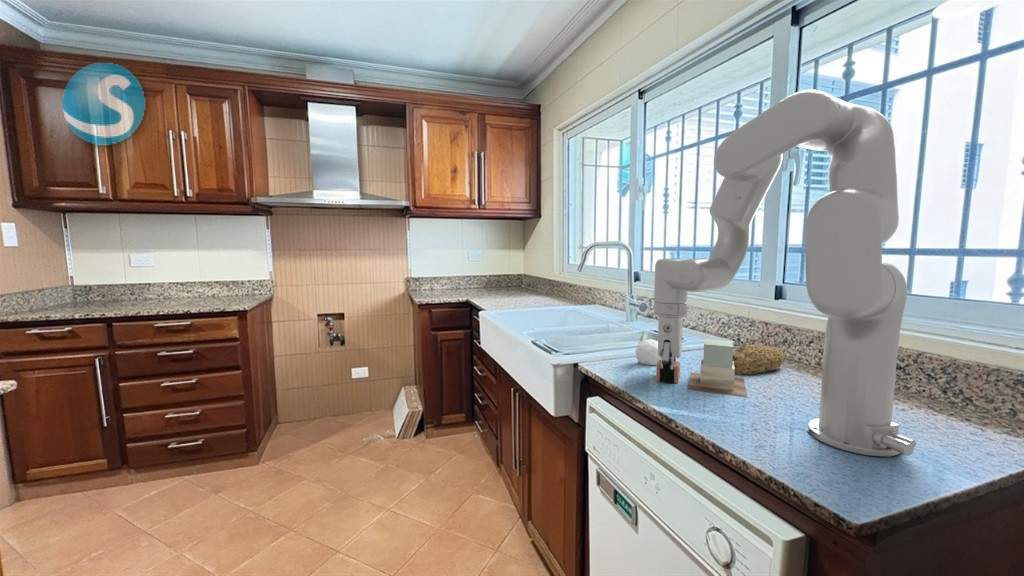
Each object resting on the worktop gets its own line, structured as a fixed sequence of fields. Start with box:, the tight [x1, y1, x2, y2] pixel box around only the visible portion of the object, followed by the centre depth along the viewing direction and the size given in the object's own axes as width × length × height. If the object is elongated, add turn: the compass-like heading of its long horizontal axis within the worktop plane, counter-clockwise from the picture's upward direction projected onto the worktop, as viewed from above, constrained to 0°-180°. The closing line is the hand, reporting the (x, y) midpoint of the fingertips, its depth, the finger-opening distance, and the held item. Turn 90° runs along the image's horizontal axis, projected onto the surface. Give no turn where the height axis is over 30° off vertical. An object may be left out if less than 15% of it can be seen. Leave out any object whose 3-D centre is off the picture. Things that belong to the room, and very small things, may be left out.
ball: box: [634, 339, 661, 366], centre depth 115 cm, size 8×8×8 cm
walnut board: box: [687, 371, 748, 399], centre depth 97 cm, size 14×12×1 cm
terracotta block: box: [655, 360, 681, 384], centre depth 101 cm, size 5×5×5 cm
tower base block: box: [700, 357, 736, 391], centre depth 97 cm, size 7×7×5 cm
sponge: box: [733, 344, 786, 376], centre depth 111 cm, size 13×8×20 cm
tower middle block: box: [702, 338, 734, 368], centre depth 96 cm, size 6×6×5 cm
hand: (668, 380), depth 101 cm, fingers closed on terracotta block, 5 cm apart
